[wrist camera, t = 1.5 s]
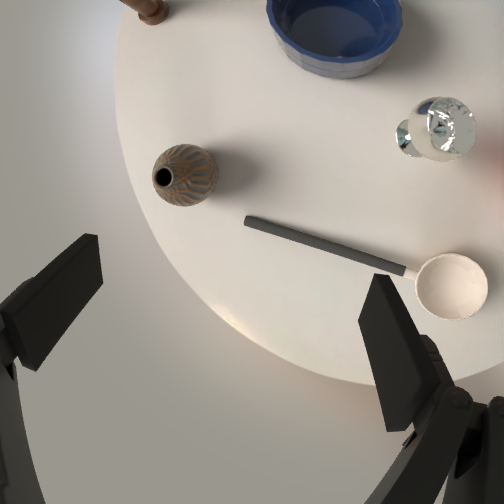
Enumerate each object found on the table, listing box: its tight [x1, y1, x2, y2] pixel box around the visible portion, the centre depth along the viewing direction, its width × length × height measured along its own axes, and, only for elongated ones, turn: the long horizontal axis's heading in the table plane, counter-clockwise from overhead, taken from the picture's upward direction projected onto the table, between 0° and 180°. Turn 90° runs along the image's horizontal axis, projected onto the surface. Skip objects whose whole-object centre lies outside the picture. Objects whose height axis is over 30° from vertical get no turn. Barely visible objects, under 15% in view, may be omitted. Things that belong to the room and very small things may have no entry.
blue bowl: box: [266, 0, 402, 79], centre depth 26 cm, size 14×14×6 cm
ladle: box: [244, 216, 489, 321], centre depth 35 cm, size 8×31×4 cm, turn 77°
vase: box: [152, 144, 218, 206], centre depth 33 cm, size 7×7×9 cm
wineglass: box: [396, 96, 477, 162], centre depth 25 cm, size 6×6×12 cm
